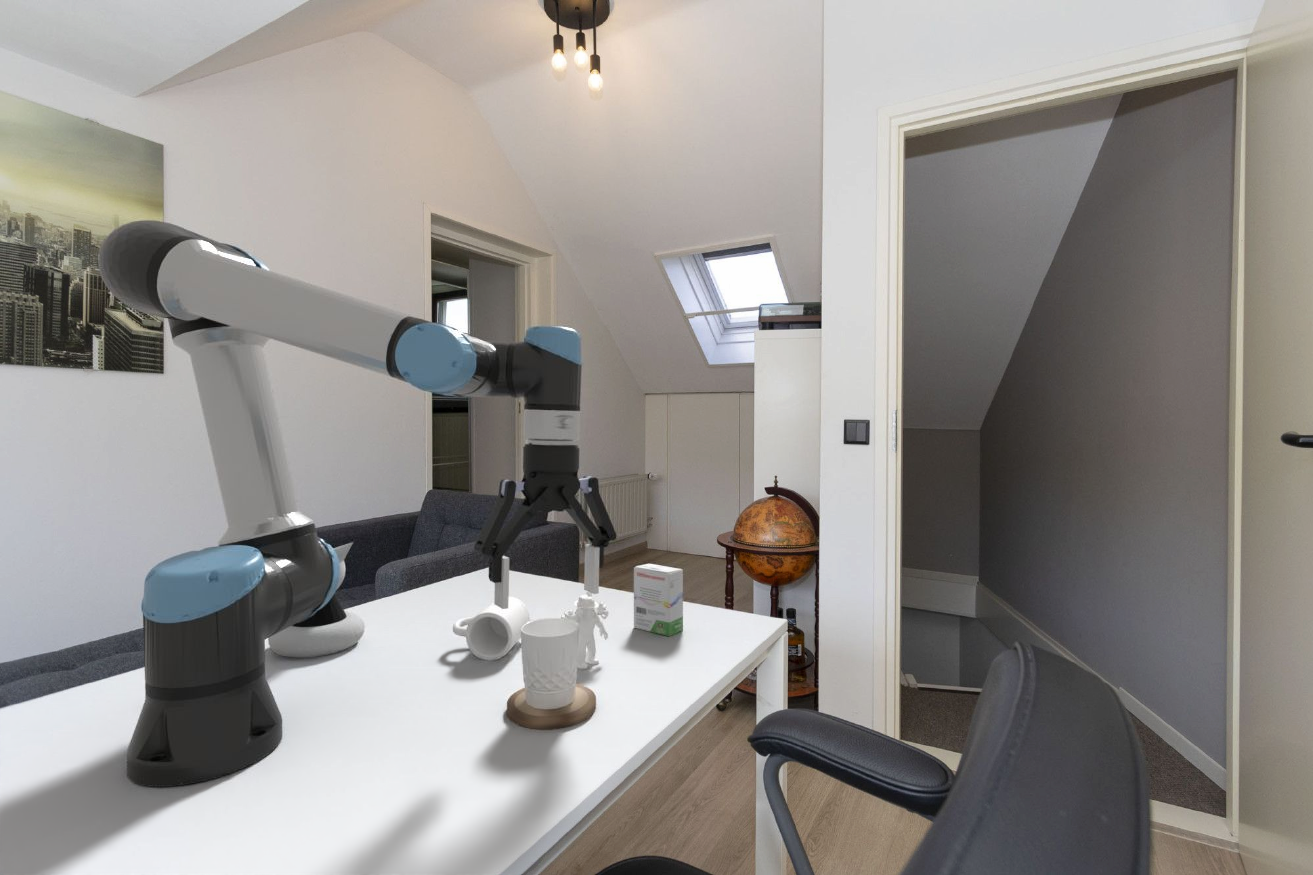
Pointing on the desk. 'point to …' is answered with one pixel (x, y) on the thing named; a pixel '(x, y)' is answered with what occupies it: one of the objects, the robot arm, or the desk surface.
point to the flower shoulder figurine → (587, 627)
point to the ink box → (658, 599)
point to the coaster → (551, 711)
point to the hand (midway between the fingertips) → (548, 598)
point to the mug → (493, 629)
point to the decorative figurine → (321, 627)
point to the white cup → (550, 662)
